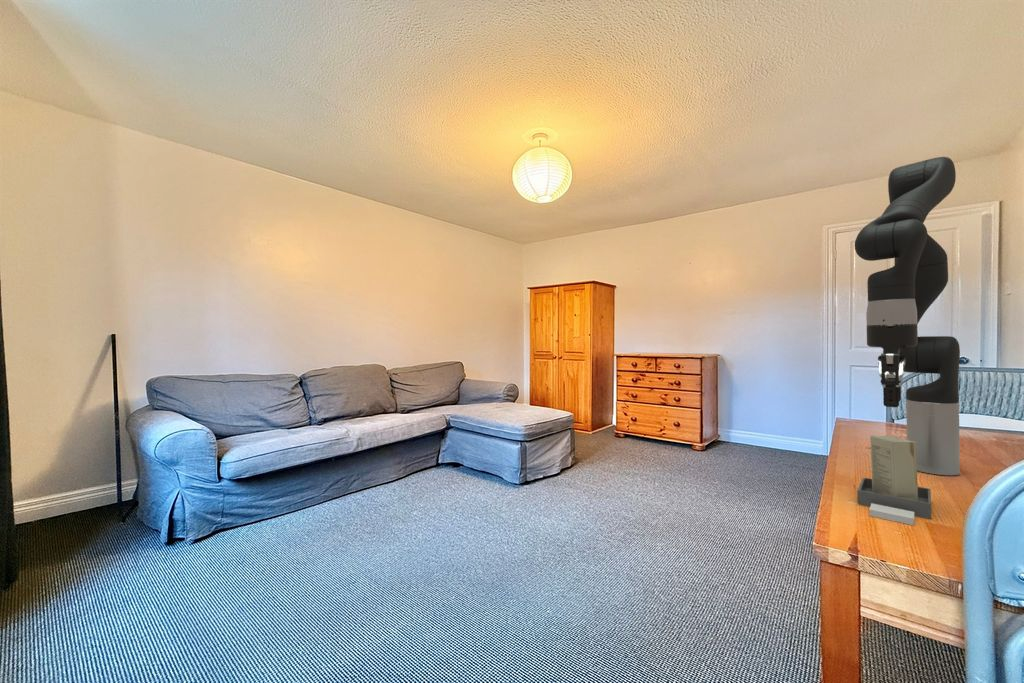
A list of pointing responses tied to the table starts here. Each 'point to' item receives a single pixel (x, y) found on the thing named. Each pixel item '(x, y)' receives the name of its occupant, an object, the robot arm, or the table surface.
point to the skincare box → (894, 467)
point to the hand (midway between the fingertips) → (892, 403)
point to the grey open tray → (894, 504)
